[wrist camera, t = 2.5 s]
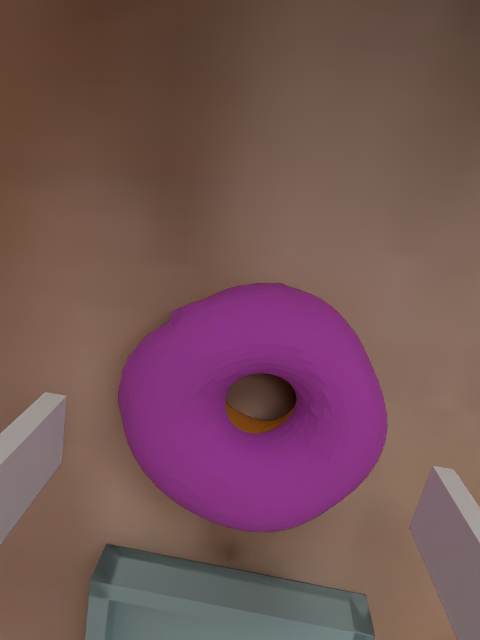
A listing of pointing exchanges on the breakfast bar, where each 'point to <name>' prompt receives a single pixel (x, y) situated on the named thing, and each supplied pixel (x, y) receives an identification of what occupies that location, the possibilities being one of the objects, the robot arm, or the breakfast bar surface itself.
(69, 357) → the breakfast bar surface
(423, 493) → the robot arm
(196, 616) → the tray
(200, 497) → the donut
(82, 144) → the breakfast bar surface
